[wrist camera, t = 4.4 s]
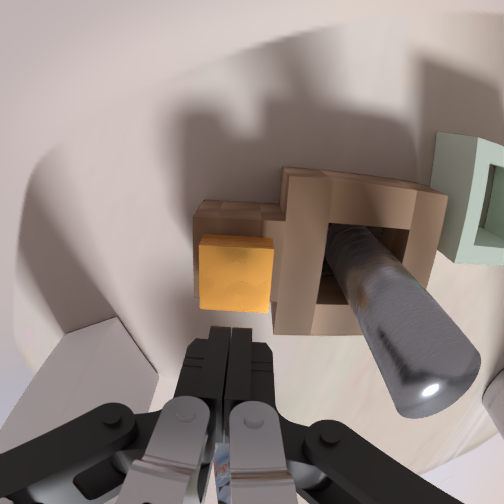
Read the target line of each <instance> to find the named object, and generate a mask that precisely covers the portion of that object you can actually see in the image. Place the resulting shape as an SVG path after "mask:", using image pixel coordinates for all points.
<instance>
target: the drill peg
mask: <svg viewBox="0 0 504 504" xmlns="http://www.w3.org/2000/svg"><path fill="white" fill-rule="evenodd" d="M324 256H325V258H326V260H327V262H328V264H329V266H330V268H331V270H332V272H333V274H334V276H335V277H336V279H337V281H338V283H339V285H340V287H341V289H342V291H343V293H344V295H345V297H346V300H347V302H348V304H349V306H350V308H351V310H352V312H353V314H354V316H355V318H356V320H357V322H358V324H359V326H360V329H361V331H362V333H363V335H364V337H365V339H366V341H367V343H368V346H369V348H370V350H371V352H372V354H373V357H374V359H375V361H376V363H377V365H378V368H379V370H380V372H381V374H382V377H383V379H384V381H385V384H386V386H387V388H388V390H389V393H390V395H391V397H392V400H393V402H394V405H395V407H396V409H397V412H398V413H399V414H400V415H401V416H403V417H406V418H411V419H417V418H424V417H428V416H431V415H433V414H436V413H438V412H440V411H442V410H444V409H445V408H447V407H449V406H450V405H452V404H453V403H454V402H456V401H457V400H458V399H459V398H460V397H461V396H462V395H463V394H464V393H465V392H466V391H467V390H468V389H469V388H470V386H471V385H472V384H473V382H474V380H475V379H476V377H477V375H478V372H479V369H480V365H481V357H480V354H479V352H478V351H477V349H476V348H475V347H474V346H473V344H472V343H471V342H470V341H469V339H468V338H467V337H466V336H465V335H464V333H463V332H462V331H461V330H460V328H459V327H458V326H457V325H456V324H455V323H454V321H453V320H452V319H451V318H450V317H449V315H448V314H447V313H446V312H445V311H444V310H443V309H442V307H441V306H440V305H439V304H438V303H437V302H436V301H435V299H434V298H433V297H432V296H431V295H430V294H429V293H428V292H427V290H426V289H425V288H424V287H423V286H422V285H421V284H420V283H419V282H418V281H417V280H416V278H415V277H414V276H413V275H412V274H411V273H410V272H409V271H408V270H407V269H406V268H405V267H404V266H403V265H402V264H401V263H400V262H399V260H398V259H397V258H396V257H395V256H394V255H393V254H392V253H391V252H390V251H389V250H388V249H387V248H386V247H385V246H384V245H383V244H382V243H381V242H380V241H379V240H378V239H377V238H376V237H375V236H374V235H373V234H372V233H371V232H370V231H369V230H368V229H367V228H366V227H365V226H364V225H352V224H339V223H334V224H333V225H332V226H331V227H329V229H328V231H327V238H326V245H325V252H324Z"/></svg>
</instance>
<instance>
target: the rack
mask: <svg viewBox="0 0 504 504" xmlns="http://www.w3.org/2000/svg"><path fill="white" fill-rule="evenodd" d="M490 164H492V165H495V173H494V180H493V186H492V192H491V197H490V203H489V208H488V212H487V217H486V222H485V226H484V228H481V227H478V225H479V221H480V216H481V211H482V206H483V201H484V196H485V191H486V185H487V178H488V172H489V165H490ZM430 188H432V189H434V190H437V191H439V192H441V193H443V194H446V195H448V200H447V206H446V211H445V216H444V221H443V225H442V230H441V234H440V239H439V243H438V247H437V250H438V251H440V252H441V253H442V254H443V255H445V256H446V257H447V258H448V259H450V260H451V261H452V262H453V263H458V264H477V265H496V266H504V146H502V145H499V144H496V143H493V142H491V141H488V140H485V139H482V138H479V137H474V136H467V135H460V134H452V133H444V132H437V133H436V143H435V152H434V160H433V168H432V175H431V182H430Z"/></svg>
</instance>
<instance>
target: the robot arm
mask: <svg viewBox="0 0 504 504" xmlns="http://www.w3.org/2000/svg"><path fill="white" fill-rule="evenodd" d="M482 402H483V405H484V407H485V408H486V410H487V412H488V413H489V415H490V417H491V418H492V420H493V422H494V423H495V425H496V427H497V429H498V430H499V432H500V434H501V436H502V437H503V439H504V369H503V370H502V371H501V372H500V373H499V374H498V375H497V377H496V378H495V379H494V380H493V381H492V383H491V384H490V385H489V387H488V388H487V390H486V392H485V394H484V396H483V401H482ZM224 425H225V443H229V477H230V504H298V500H297V495H296V492H297V493H298V494H299V495H300V496H301V497H302V498H304V499H305V500H306V501H307V502H308V503H309V504H464V503H462V502H461V501H459V500H457V499H455V498H454V497H452V496H450V495H449V494H447V493H445V492H444V491H442V490H440V489H439V488H437V487H436V486H434V485H432V484H431V483H429V482H427V481H426V480H424V479H423V478H421V477H420V476H418V475H417V474H415V473H414V472H412V471H411V470H409V469H407V468H406V467H404V466H403V465H401V464H400V463H398V462H397V461H396V460H394V459H393V458H391V457H390V456H388V455H387V454H385V453H384V452H382V451H381V450H380V449H378V448H377V447H375V446H374V445H372V444H371V443H370V442H368V441H367V440H365V439H364V438H363V437H361V436H360V435H358V434H357V433H356V432H354V431H353V430H352V429H350V428H349V427H347V426H346V425H345V424H343V423H341V422H339V421H335V420H321V421H318V422H315V423H313V424H312V425H311V426H310V427H308V426H304V425H300V424H296V423H293V422H290V421H288V420H287V419H285V418H284V417H282V416H281V415H280V413H279V412H278V410H277V408H276V405H275V389H274V373H273V354H272V351H271V349H270V348H269V346H268V345H267V343H261V342H252V328H234V327H233V328H232V336H231V327H218V326H211V328H210V333H209V338H208V339H198V338H196V339H195V340H194V341H193V342H192V343H191V344H190V345H189V346H188V348H187V351H186V355H185V359H184V362H183V367H182V369H181V372H180V376H179V379H178V383H177V387H176V390H175V394H174V397H173V399H171V400H169V401H168V402H167V403H166V404H165V405H164V407H163V409H161V410H159V411H156V412H150V413H140V414H134V413H133V411H132V410H131V409H130V408H129V407H128V406H126V405H124V404H121V403H115V402H111V403H106V404H103V405H100V406H98V407H96V408H94V409H93V410H91V411H89V412H87V413H85V414H83V415H81V416H79V417H77V418H75V419H73V420H71V421H69V422H67V423H65V424H63V425H61V426H59V427H57V428H55V429H53V430H51V431H49V432H47V433H45V434H43V435H41V436H38V437H36V438H34V439H32V440H30V441H28V442H26V443H24V444H21V445H19V446H17V447H15V448H13V449H10V450H8V451H6V452H4V453H1V454H0V504H104V503H106V502H107V501H109V500H111V499H112V498H114V497H116V496H117V495H119V496H118V498H117V501H116V503H115V504H204V501H205V496H206V492H207V487H208V482H209V478H210V473H211V469H212V464H213V457H214V453H215V445H216V442H217V443H223V435H224Z"/></svg>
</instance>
